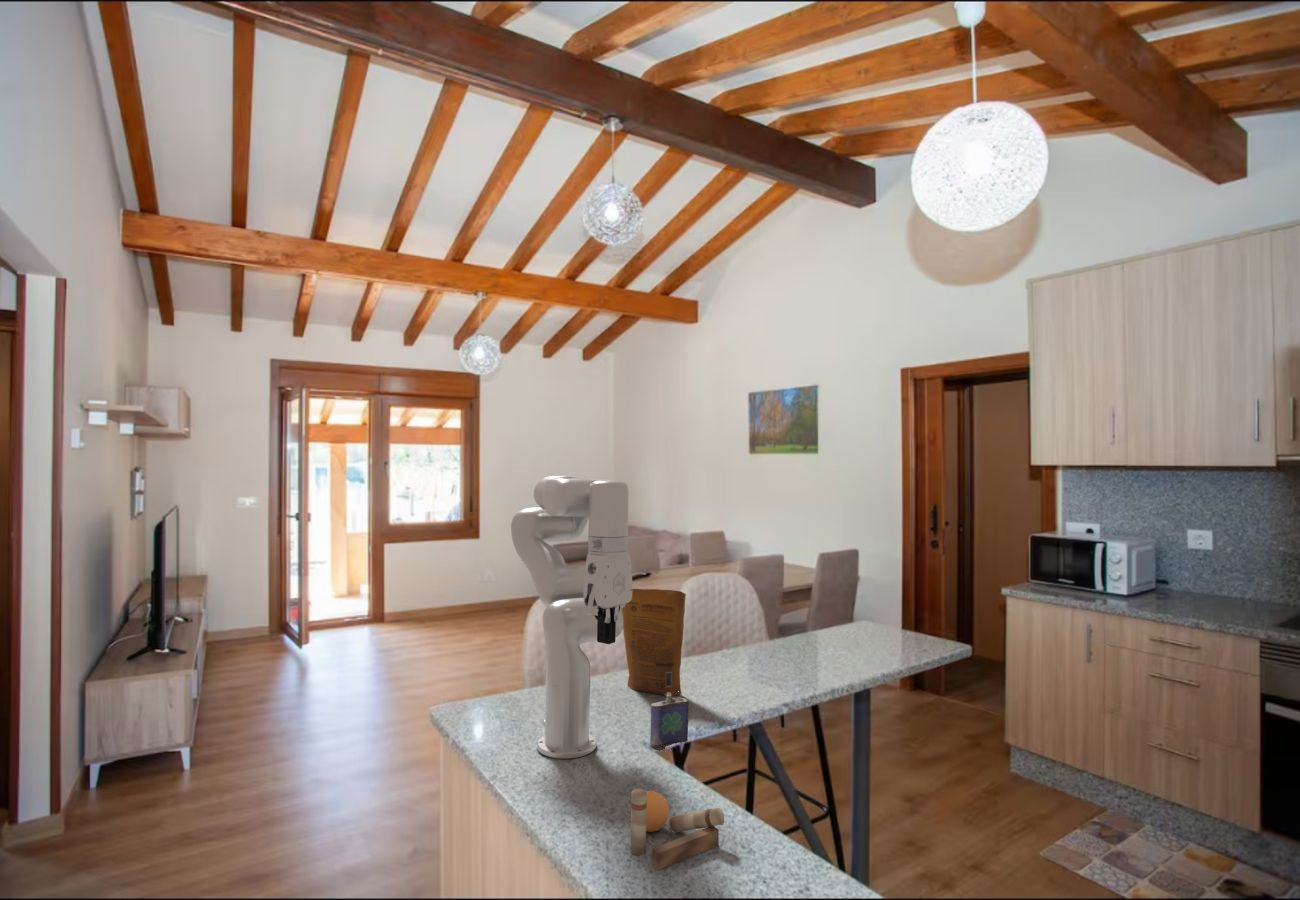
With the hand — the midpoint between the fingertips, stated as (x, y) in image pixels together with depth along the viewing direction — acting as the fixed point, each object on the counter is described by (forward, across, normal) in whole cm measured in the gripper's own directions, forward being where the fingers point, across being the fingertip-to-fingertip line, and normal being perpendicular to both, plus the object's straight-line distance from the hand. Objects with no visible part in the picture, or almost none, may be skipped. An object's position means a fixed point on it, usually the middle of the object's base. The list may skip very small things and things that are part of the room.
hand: (606, 642), depth 127 cm
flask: (+27, +25, +1) cm, 37 cm away
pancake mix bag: (+27, +52, +23) cm, 63 cm away
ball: (+24, -7, -15) cm, 30 cm away
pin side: (+27, -14, -17) cm, 35 cm away
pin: (+26, -6, -19) cm, 33 cm away
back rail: (+27, -10, -24) cm, 38 cm away
